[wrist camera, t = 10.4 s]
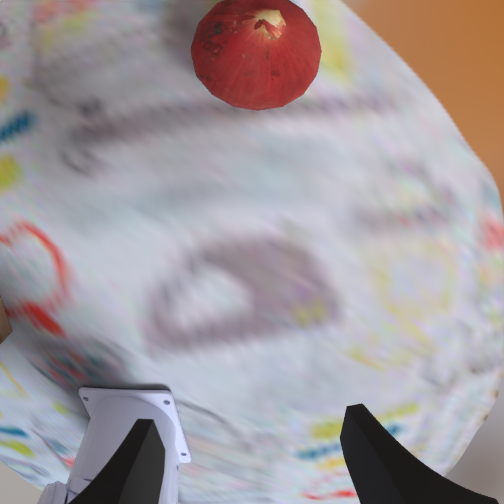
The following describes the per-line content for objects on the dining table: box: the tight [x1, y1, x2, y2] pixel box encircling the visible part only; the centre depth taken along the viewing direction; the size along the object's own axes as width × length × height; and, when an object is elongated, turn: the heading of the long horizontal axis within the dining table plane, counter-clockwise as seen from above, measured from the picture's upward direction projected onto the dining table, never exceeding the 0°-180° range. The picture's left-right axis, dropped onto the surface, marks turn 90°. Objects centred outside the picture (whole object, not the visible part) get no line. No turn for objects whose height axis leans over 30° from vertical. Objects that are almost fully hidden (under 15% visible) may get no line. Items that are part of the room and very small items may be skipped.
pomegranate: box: [191, 0, 322, 110], centre depth 12 cm, size 6×6×8 cm
